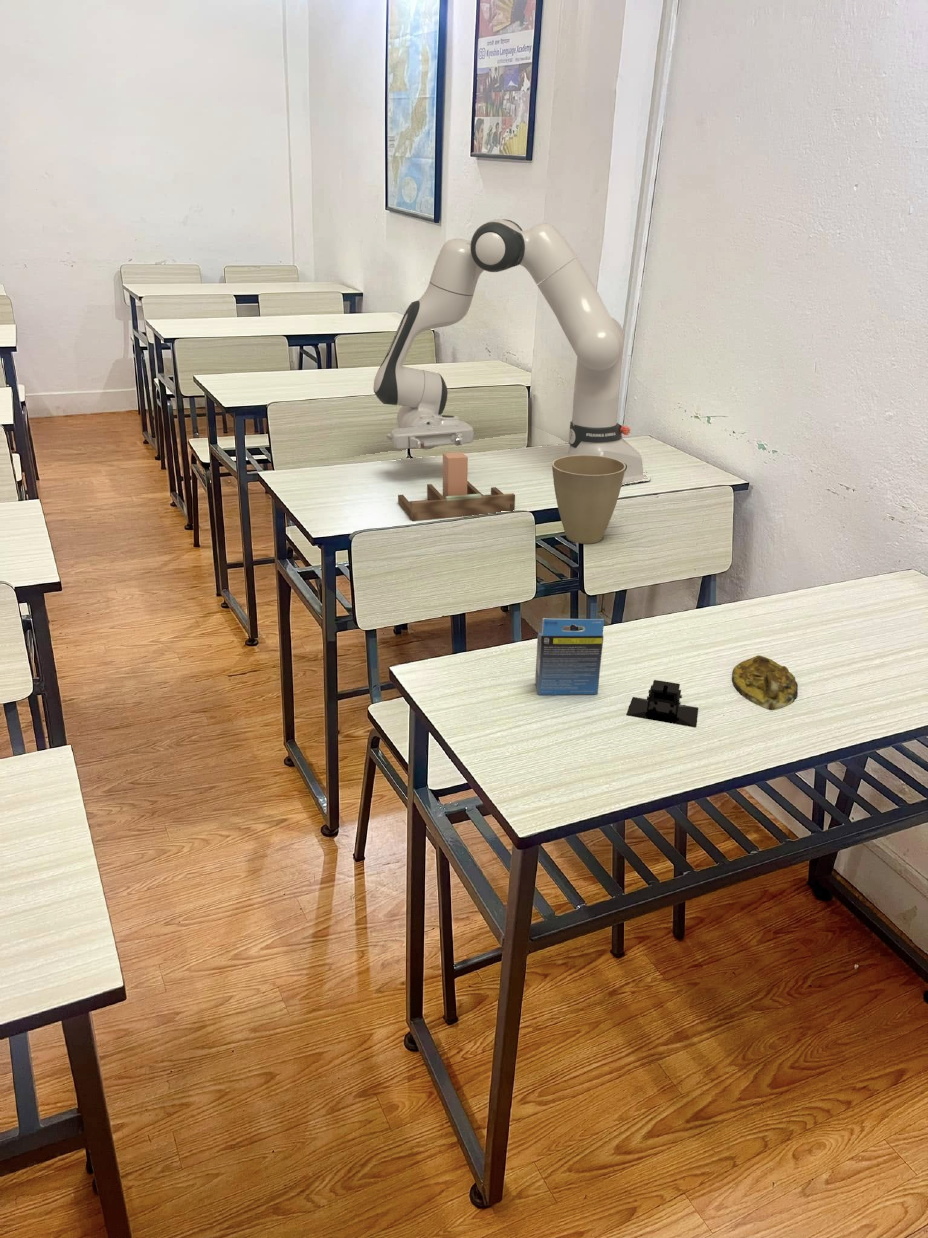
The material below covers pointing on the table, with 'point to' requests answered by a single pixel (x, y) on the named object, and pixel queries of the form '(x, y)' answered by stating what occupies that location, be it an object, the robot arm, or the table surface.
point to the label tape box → (569, 657)
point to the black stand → (664, 705)
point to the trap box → (457, 504)
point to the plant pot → (586, 494)
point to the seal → (765, 683)
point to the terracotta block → (455, 474)
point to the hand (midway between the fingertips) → (440, 443)
